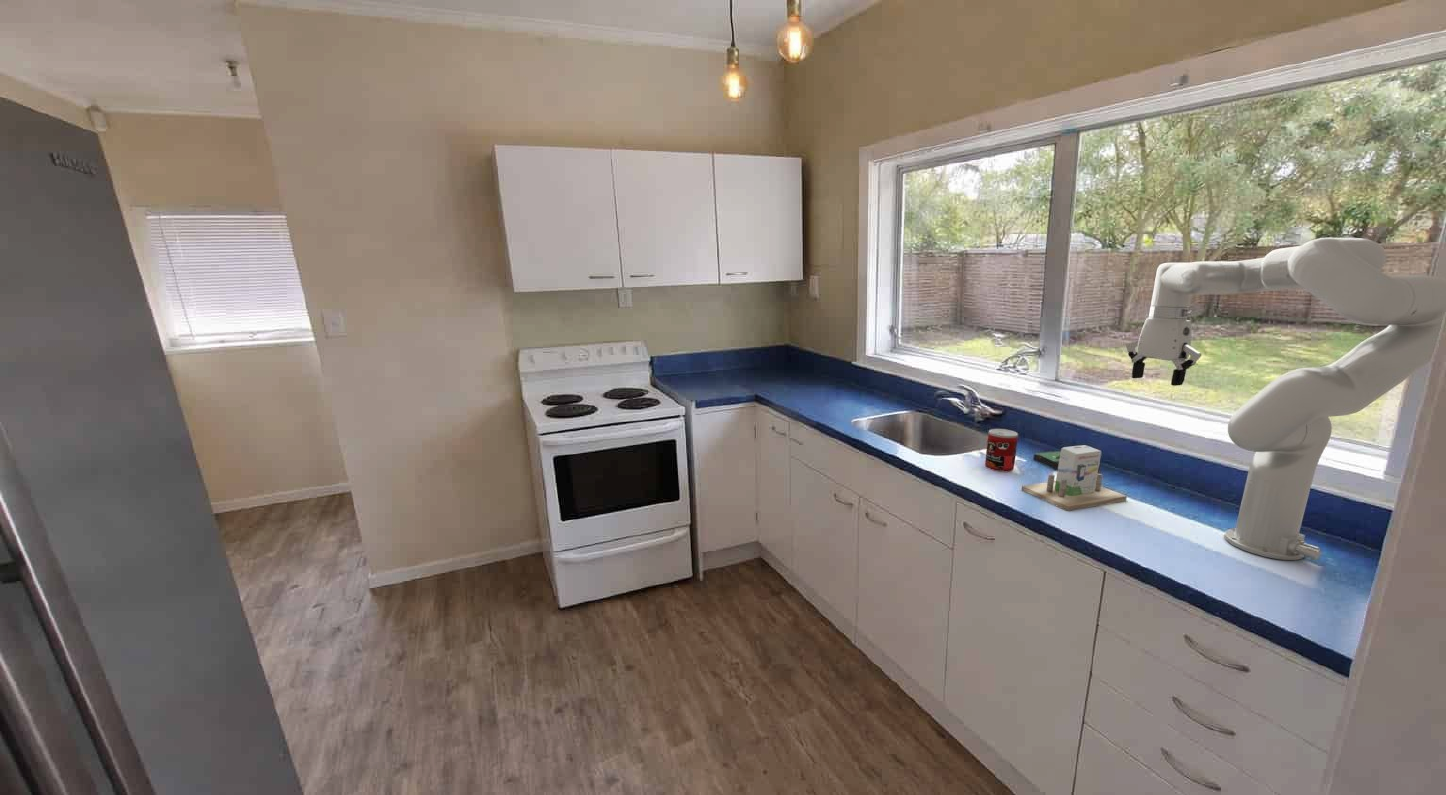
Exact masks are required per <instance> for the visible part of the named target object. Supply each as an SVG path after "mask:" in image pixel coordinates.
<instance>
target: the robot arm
mask: <svg viewBox="0 0 1446 795" xmlns="http://www.w3.org/2000/svg"><path fill="white" fill-rule="evenodd" d="M1387 259H1388V258H1387V252H1386V250H1385V248H1384V247H1383V246H1382V245H1381V244H1380V243H1379V242H1376V241H1374V240H1372V239H1368V238H1361V237H1320V238H1315V239H1312V240H1310V241H1307V242H1305V243H1302V244H1301V245H1297V246H1290V247H1289V246H1288V247H1284V248H1283V247H1282V248H1276V249H1273V250H1271V251H1270V252H1268V253H1266V255H1265V256H1264V257H1259V258H1253V259H1245V260H1235V261H1228V260H1227V261H1217V260H1216V261H1215V260H1214V261H1206V260H1205V261H1193V262H1165V263H1161V264H1159V265H1158V267H1157V269H1156V273H1155V274H1156V275H1155V278H1154V279H1155V280H1154V285H1153V286H1154V287H1153V291H1152V297H1151V302H1150V303H1151V304H1150V308H1149V314H1148V317H1147V318H1146V319H1145V321H1144V324H1143V326H1142V328H1141V331H1140V335H1139V338H1138V340H1136V341H1133V342H1130V343H1128V344H1126V347H1125V348H1126V351H1127V352H1128V357H1129V358H1130V359H1131V362H1132V371H1131V379H1143V377H1144V372H1145V367H1146V362H1144V361H1145V360H1147V359H1155V360H1161V361H1168V362H1169V361H1170V362H1172V363H1173V365H1174V366H1175V369H1173V371H1172V376H1171V382H1170V385H1171V386H1174V387H1175V386H1182V385H1183V384H1184V381H1185V377H1186V374H1187V370H1189V369H1190V367H1191V368H1192V366H1194V365H1195V364H1197V361H1198V360H1199V359H1200V358H1201V357H1202V353H1201V352H1200V351H1198V349H1197V350H1196V349H1195V348H1194V347H1192V346H1191V344H1192V323H1191V320H1188V318H1189V317H1192V316H1193V315H1194V311H1193V310H1190V306H1191V305H1190V304H1191V299H1192V296H1193V295H1195V296H1196V295H1198V296H1199V295H1201V296H1202V295H1205V296H1206V295H1238V294H1247V293H1257V292H1258V293H1259V292H1260V293H1261V292H1269V291H1271V292H1277V291H1287V290H1299V289H1304V290H1305V291H1307V293H1309V294H1310V295H1312V296H1314V297H1315V298H1316V299H1317V300H1319V301H1320V302H1322V303H1323V304H1324V305H1325V306H1327V307H1329V308H1330V309H1331V310H1333V311H1334V312H1336V313H1337V314H1338V315H1340V316H1341V317H1343V318H1344V319H1347V320H1348V321H1350V322H1353V323H1356V324H1359V325H1364V326H1374V327H1375V326H1387V327H1385V328H1384V329H1382V330H1381V331H1378V332H1377V333H1375V334H1373V335H1372V336H1370V337H1368V338H1366V339H1365V340H1363V341H1361V342H1359V343H1358V344H1357V345H1355V347H1353V348H1352V349H1351V350H1350V351H1349V352H1347V353H1345V354H1344V355H1342V356H1341V357H1340V358H1339V359H1337V360H1336V361H1334V362H1332V363H1330V364H1327V365H1324V366H1322V365H1321V366H1315V367H1312V366H1310V367H1301V368H1296V369H1293V370H1290V371H1287V372H1286V373H1283V374H1281V375H1279V376H1277V377H1276V378H1275V379H1273V380H1271V381H1270V382H1269V383H1268V384H1266V386H1265V387H1263V388H1262V389H1261V390H1259V392H1257V393H1256V394H1254V396H1252V397H1251V398H1250V399H1248V400H1247V401H1246V402H1245V403H1244V404H1243V405H1241V406H1240V407H1239V408H1238V409H1237V410H1236V411H1235V412H1234V413H1233V414H1232V415H1231V417H1230V418H1229V421H1228V424H1227V433H1228V434H1227V435H1228V436H1229V438H1230V441H1232V443H1233V444H1234V445H1236V446H1237V447H1238V448H1241V449H1242V450H1246V451H1249V452H1253V453H1254V455H1253V457H1252V459H1251V461H1250V465H1249V468H1248V472H1247V478H1246V481H1245V484H1244V490H1243V493H1242V494H1243V495H1242V498H1241V503H1240V507H1239V512H1238V515H1237V520H1236V524H1235V528H1230V529H1226V530H1225V531H1224V537H1223V538H1224V539H1225V540H1226V542H1228V543H1229V544H1231V545H1232V546H1235V547H1236V548H1238V549H1241V550H1242V551H1246V552H1248V553H1251V554H1254V555H1257V556H1261V557H1266V558H1270V559H1276V560H1282V561H1298V560H1301V559H1303V558H1304V557H1307V558H1309V559H1313V560H1315V561H1316V560H1317V561H1318V560H1319V559H1320V558H1321V554H1322V552H1321V548H1320V547H1319V546H1315V545H1313V544H1309V543H1307V542H1306V541H1305V537H1306V535H1305V534H1302V533H1300V531H1301V526H1302V522H1303V519H1304V515H1305V511H1306V507H1307V502H1308V499H1309V496H1310V492H1311V487H1312V484H1313V481H1314V476H1315V473H1316V469H1317V466H1318V464H1319V461H1320V458H1321V457H1322V455H1323V453H1324V451H1325V449H1326V448H1327V445H1328V443H1329V441H1330V439H1331V436H1332V429H1333V426H1332V421H1331V419H1330V418H1329V417H1342V416H1349V415H1352V414H1356V413H1358V412H1361V411H1362V410H1364V409H1366V408H1367V407H1368V406H1370V405H1371V404H1373V403H1374V402H1375V401H1377V400H1378V399H1380V398H1381V397H1382V396H1385V394H1387V393H1389V392H1390V391H1391V390H1393V389H1394V388H1395V387H1397V386H1398V385H1400V384H1401V383H1402V382H1404V381H1405V380H1407V379H1408V378H1410V376H1412V375H1413V374H1415V373H1417V372H1418V371H1420V370H1421V369H1423V368H1424V367H1425V366H1427V365H1428V364H1430V363H1431V362H1432V361H1431V358H1432V354H1433V352H1434V349H1435V346H1436V342H1437V338H1438V336H1439V332H1440V329H1441V324H1442V320H1443V316H1444V313H1445V312H1446V278H1444V277H1441V276H1436V275H1435V276H1434V275H1424V274H1422V275H1421V274H1406V275H1405V274H1403V275H1402V274H1395V275H1394V274H1393V275H1391V274H1390V275H1388V274H1386V273H1385V272H1383V271H1382V270H1383V269H1384V267H1385V265H1386V264H1387ZM1136 348H1137V349H1136ZM1189 356H1190V357H1189ZM1430 361H1431V362H1430Z"/></svg>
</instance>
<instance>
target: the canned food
mask: <svg viewBox="0 0 1446 795" xmlns="http://www.w3.org/2000/svg"><path fill="white" fill-rule="evenodd" d="M1018 439H1019V433H1018V432H1016V431H1014V430H1010V429H1006V428H991V429H989V430H988V434H987V441H986V442H987V443H986V451H985V461H984V464H985V467H986V468H988V469H989V468H990V469H989V470H992V469H993V471H996V470H997V471H999V472H1010V471H1013V470H1014V468H1015V463H1016V456H1017V449H1018V448H1017V447H1018V441H1019V440H1018ZM997 471H996V472H997Z"/></svg>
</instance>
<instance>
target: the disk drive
mask: <svg viewBox="0 0 1446 795" xmlns="http://www.w3.org/2000/svg"><path fill="white" fill-rule="evenodd" d="M1060 454H1061V450H1056V451H1045V452H1035V453H1034V454H1033V460H1035V461H1036V462H1038V463H1041V464H1043V465H1045V466H1047V467H1049V468H1051V469H1053V470H1056V471H1058V465H1059V460H1060ZM1100 468H1101V467H1100V465H1099V469H1098V474H1100Z"/></svg>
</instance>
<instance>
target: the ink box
mask: <svg viewBox="0 0 1446 795" xmlns="http://www.w3.org/2000/svg"><path fill="white" fill-rule="evenodd" d="M1060 451H1061V454H1060V460H1059V465H1058V470H1056V471H1057V472H1056V476H1055V477H1056V478H1055V481H1056V483H1055V490H1057V491H1059V487H1060V480H1061V479H1065V480H1067V484H1066V490H1065V494H1066V495H1068V496H1074V495H1080V494H1086V493H1091V492H1095V486H1096V480H1097V475H1098V469H1099V466H1100V462H1101V458H1102V450H1100V449H1097V448H1094V447H1092V446H1089V445H1085V444H1083V445H1073V446H1064V447H1062V448H1061V449H1060ZM1099 470H1100V469H1099Z"/></svg>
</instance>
